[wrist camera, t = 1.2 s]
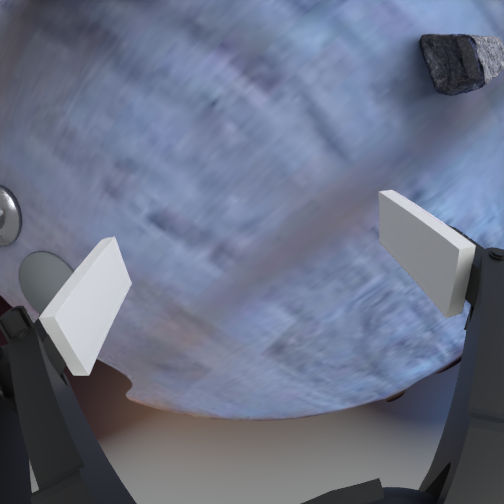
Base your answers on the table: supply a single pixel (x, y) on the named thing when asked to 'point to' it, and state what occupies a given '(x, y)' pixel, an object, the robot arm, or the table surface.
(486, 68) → the stone
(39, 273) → the rubber mat
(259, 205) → the table surface
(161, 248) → the table surface
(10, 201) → the metal disc with peg
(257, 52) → the table surface
